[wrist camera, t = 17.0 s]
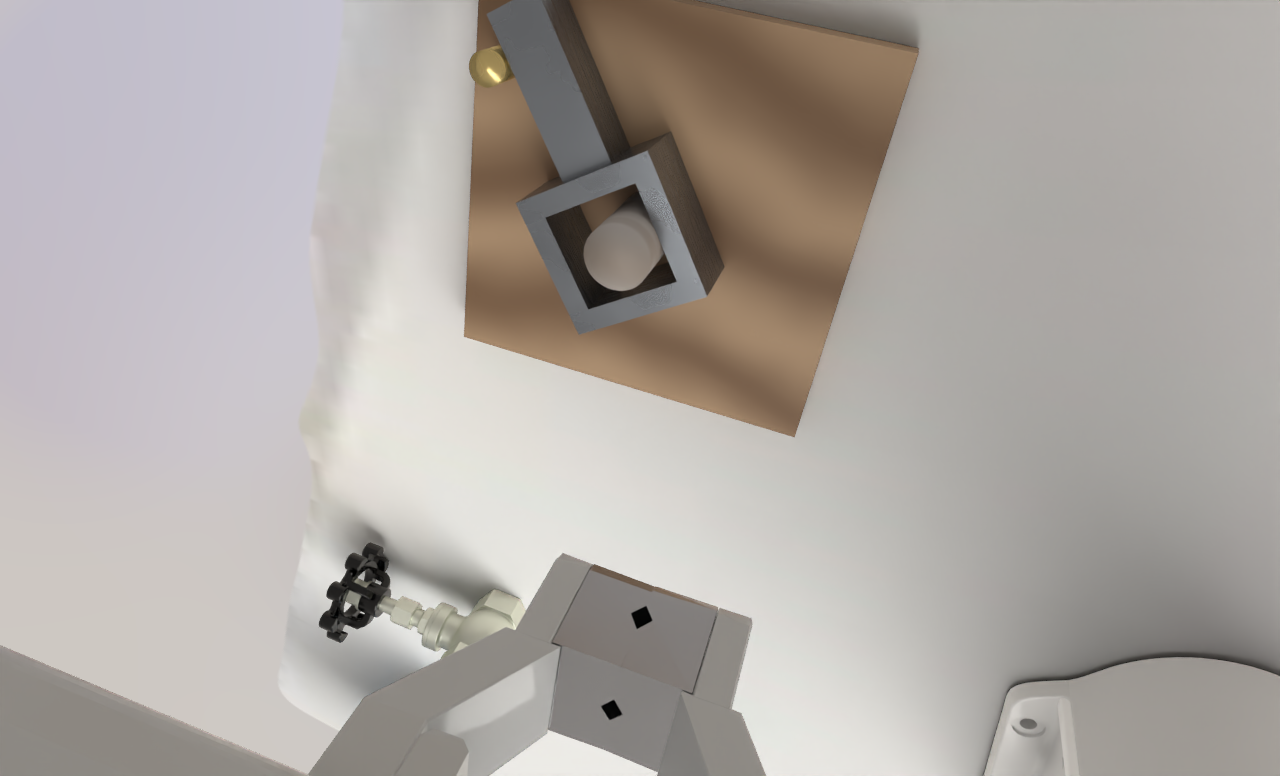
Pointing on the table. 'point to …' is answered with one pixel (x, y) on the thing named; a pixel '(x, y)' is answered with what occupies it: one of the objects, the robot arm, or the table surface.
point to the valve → (412, 608)
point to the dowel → (490, 67)
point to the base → (726, 189)
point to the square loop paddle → (598, 172)
